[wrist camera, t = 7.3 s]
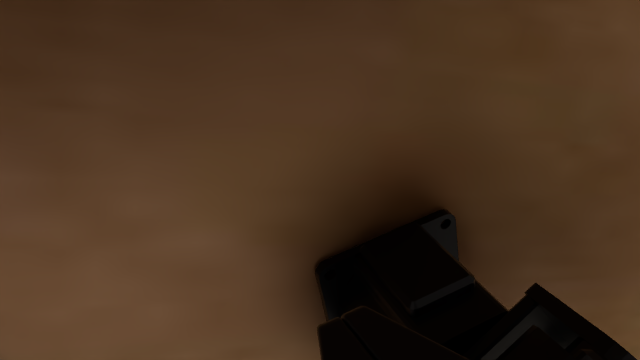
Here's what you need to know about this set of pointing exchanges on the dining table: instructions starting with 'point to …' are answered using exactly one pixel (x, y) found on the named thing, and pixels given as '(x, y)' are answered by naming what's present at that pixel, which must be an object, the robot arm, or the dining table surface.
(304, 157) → the dining table surface
